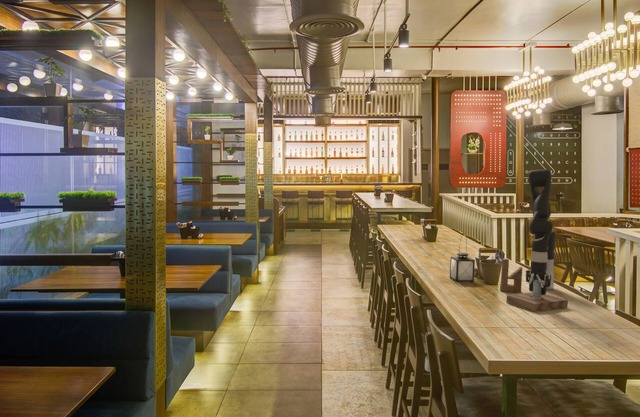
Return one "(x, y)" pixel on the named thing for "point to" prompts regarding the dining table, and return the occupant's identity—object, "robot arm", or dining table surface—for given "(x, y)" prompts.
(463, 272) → the lantern
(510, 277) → the brown wedge-headed part
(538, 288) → the peg
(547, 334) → the dining table surface
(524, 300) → the socket block
